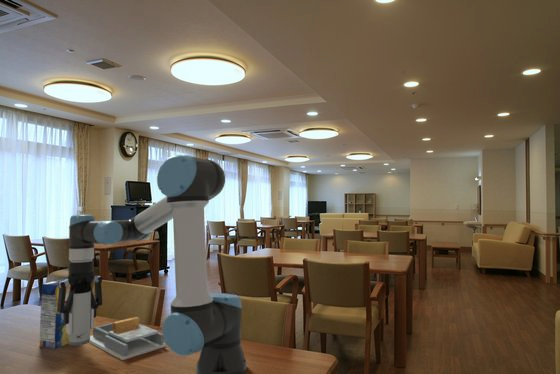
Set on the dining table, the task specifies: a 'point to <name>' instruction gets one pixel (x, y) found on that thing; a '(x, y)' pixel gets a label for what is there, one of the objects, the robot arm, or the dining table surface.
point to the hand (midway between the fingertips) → (79, 330)
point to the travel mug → (80, 314)
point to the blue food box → (52, 317)
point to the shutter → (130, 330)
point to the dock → (124, 343)
